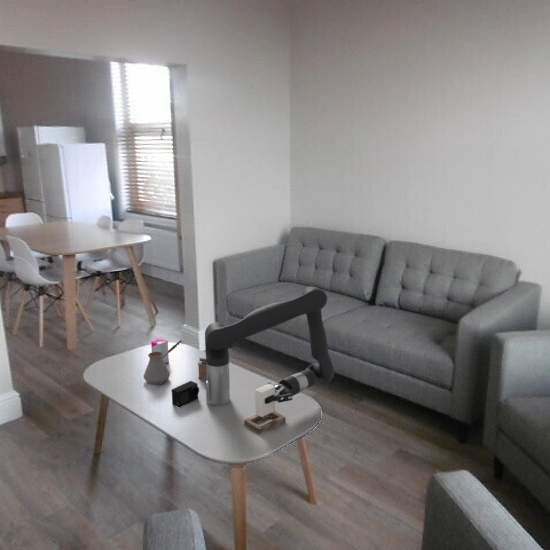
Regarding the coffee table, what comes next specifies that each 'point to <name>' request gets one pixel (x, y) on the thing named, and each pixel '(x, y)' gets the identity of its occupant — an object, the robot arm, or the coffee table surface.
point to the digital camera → (185, 394)
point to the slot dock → (261, 429)
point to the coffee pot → (157, 367)
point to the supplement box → (161, 348)
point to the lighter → (202, 369)
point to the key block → (260, 397)
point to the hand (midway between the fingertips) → (261, 399)
